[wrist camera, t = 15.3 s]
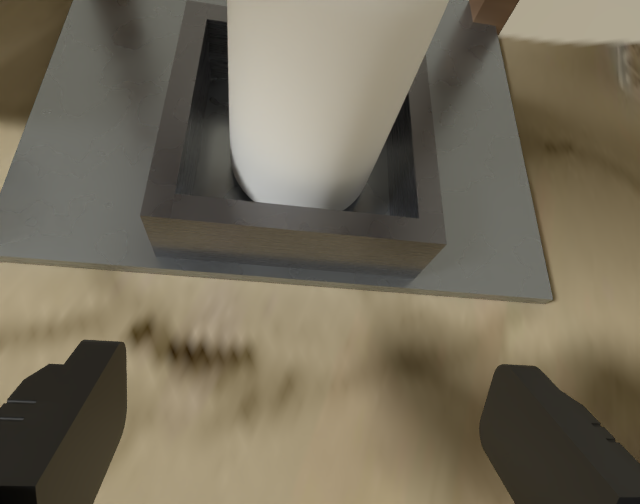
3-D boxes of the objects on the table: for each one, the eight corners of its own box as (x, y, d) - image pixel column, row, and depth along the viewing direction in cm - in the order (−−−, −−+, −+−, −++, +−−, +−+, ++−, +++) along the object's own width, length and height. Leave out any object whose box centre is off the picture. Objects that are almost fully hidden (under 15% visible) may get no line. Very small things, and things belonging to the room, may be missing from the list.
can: (339, 103, 24) (424, -198, 13) (386, 208, 21) (536, -53, 11) (215, 122, 22) (195, -210, 11) (251, 239, 20) (270, -39, 9)
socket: (545, 303, 21) (607, 271, 18) (-16, 260, 18) (-78, 209, 14) (486, 12, 30) (520, -50, 26) (99, -53, 27) (78, -134, 23)
